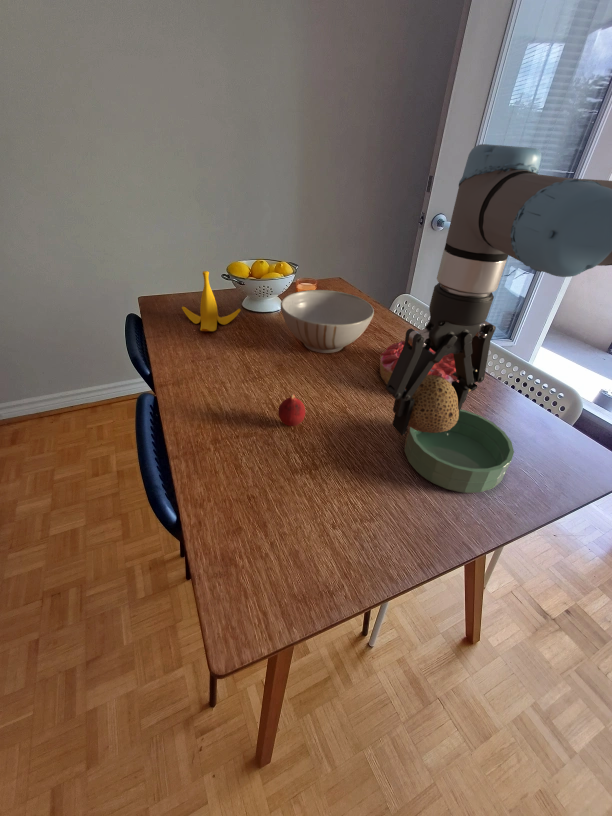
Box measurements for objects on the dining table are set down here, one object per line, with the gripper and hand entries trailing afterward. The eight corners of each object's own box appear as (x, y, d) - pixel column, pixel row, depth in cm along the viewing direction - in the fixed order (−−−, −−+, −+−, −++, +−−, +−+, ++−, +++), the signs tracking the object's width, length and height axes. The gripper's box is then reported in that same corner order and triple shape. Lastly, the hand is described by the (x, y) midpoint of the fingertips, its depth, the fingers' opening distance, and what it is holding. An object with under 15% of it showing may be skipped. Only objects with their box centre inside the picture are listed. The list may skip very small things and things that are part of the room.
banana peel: (183, 315, 132) (177, 264, 122) (241, 317, 133) (239, 266, 123) (172, 337, 118) (164, 281, 108) (237, 339, 120) (234, 284, 110)
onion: (308, 430, 86) (311, 399, 82) (284, 436, 84) (285, 405, 80) (297, 415, 91) (299, 385, 86) (274, 421, 88) (274, 390, 84)
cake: (495, 386, 104) (503, 358, 100) (425, 414, 94) (431, 385, 89) (426, 351, 122) (431, 326, 118) (361, 371, 112) (363, 345, 107)
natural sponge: (462, 438, 65) (481, 386, 59) (424, 456, 60) (441, 402, 55) (421, 409, 71) (435, 360, 65) (384, 424, 66) (395, 372, 61)
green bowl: (524, 480, 78) (536, 458, 74) (442, 505, 71) (451, 482, 68) (459, 422, 92) (466, 400, 89) (386, 438, 86) (391, 416, 82)
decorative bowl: (307, 373, 106) (310, 331, 99) (265, 333, 124) (265, 295, 117) (385, 355, 117) (393, 316, 110) (336, 320, 136) (340, 285, 129)
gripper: (506, 273, 58) (462, 400, 71) (377, 283, 51) (354, 423, 64) (549, 291, 52) (492, 424, 66) (411, 305, 45) (378, 453, 58)
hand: (424, 423), depth 65 cm, fingers closed on natural sponge, 9 cm apart
